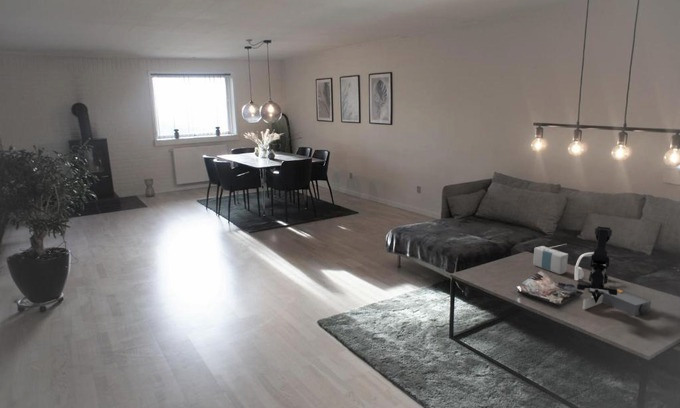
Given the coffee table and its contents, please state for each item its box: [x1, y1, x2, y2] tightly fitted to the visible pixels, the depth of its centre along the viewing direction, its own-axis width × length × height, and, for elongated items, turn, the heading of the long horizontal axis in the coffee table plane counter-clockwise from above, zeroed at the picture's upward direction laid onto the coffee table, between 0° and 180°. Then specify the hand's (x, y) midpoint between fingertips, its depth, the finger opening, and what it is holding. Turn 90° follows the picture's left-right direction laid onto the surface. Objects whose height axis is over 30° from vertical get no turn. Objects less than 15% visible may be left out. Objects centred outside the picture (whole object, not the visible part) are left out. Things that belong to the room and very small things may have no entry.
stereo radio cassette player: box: [532, 243, 569, 275], centre depth 304 cm, size 21×8×20 cm, turn 28°
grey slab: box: [602, 287, 652, 317], centre depth 250 cm, size 21×12×7 cm, turn 23°
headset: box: [573, 251, 606, 281], centre depth 287 cm, size 20×7×18 cm, turn 101°
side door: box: [582, 294, 604, 310], centre depth 252 cm, size 17×2×6 cm, turn 119°
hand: (595, 303), depth 249 cm, fingers closed
